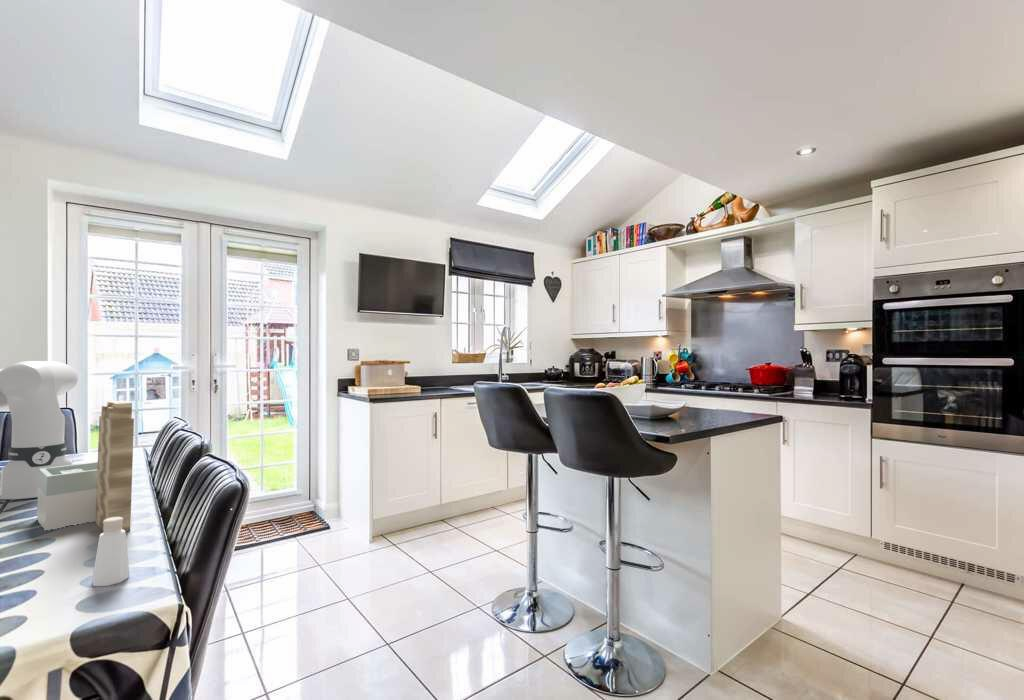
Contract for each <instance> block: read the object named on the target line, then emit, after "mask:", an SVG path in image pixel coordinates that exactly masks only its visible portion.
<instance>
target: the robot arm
mask: <svg viewBox="0 0 1024 700" xmlns="http://www.w3.org/2000/svg"><path fill="white" fill-rule="evenodd" d="M78 381H79V374H78V372H77V370H76V369H75V368H74V367H72V366H71V365H68V364H67V363H64V362H61V361H57V360H23V361H20V362H19V361H18V362H16V363H14V364H11V365H9V366H6V367H5V368H0V408H5V407H8V409H9V411H10V417H11V441H10V443H11V444H10V445H11V446H10V447H9V448H8V453H7V455H8V457H7V458H8V460H9V462H7V464H5V465H4V466H3V468H1V470H0V500H25V499H32V498H38V479H39V469H42V468H50V467H58V466H67V465H73V461H72V460H71V459H70V458H68V457H67V456H66V454H67V443H66V442H65V431H66V430H65V429H66V417H65V414H64V413H63V412H62V410H61V406H60V404H59V400H58V396H61V395H64V394H66V393H68V392H69V391H71V390H72V389H73V388H75V386H76V385H77V383H78Z"/></svg>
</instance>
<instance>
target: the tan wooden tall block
mask: <svg viewBox="0 0 1024 700" xmlns="http://www.w3.org/2000/svg"><path fill="white" fill-rule="evenodd" d="M106 402H107V404H106V405H101V414H100V415H99V417H98V419H99V420H98V446H97V462H98V470H97V498H96V521H95V525H97V526H98V528H100V529H101V530H102V531H104V529H103V526H104V524H103V521H104V520H105V519H108V518H111V517H122V518H123V521H122V524H123V525H122V529H123V530H125V532H128V531H131V523H132V522H131V519H132V518H131V516H132V514H131V513H132V512H131V511H132V494H133V493H132V487H133V458H134V433H135V431H134V429H135V427H134V426H135V425H134V423H135V422H134V421H135V418H133V416H132V415H133V413H132V412H133V403H132V402H130V401H125V400H115V401H114V400H113V401H112V400H111V401H109V400H108V401H106Z"/></svg>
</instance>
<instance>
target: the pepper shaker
mask: <svg viewBox="0 0 1024 700" xmlns="http://www.w3.org/2000/svg"><path fill="white" fill-rule="evenodd" d="M122 521H123V518H122V517H111V518H108V519H105V520H104V521H103V524H104V526H103V529H104V531H103V530H102V531H103V532H102V533H100V534H99V537H98V543H97V549H96V556H95V561H94V568H93V573H92V580H91V583H92V585H93V587H107V586H113V585H116V584H120V583H122V582H123V581H125V580H127V579H129V578H130V564H129V554H128V553H129V552H128V543H127V534H126V531H125V530H123V529H122V525H123V524H122Z"/></svg>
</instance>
